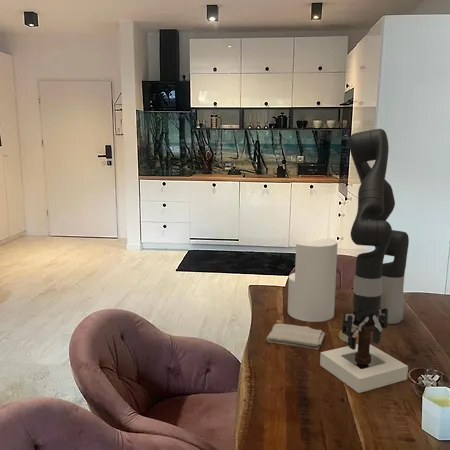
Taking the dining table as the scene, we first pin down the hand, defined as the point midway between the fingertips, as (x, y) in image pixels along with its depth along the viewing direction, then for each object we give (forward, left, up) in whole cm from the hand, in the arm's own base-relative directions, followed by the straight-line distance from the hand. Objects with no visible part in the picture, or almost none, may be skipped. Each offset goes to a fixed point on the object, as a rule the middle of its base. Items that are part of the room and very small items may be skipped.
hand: (363, 345), depth 136 cm
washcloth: (+5, -27, -9) cm, 29 cm away
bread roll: (-12, -19, -9) cm, 24 cm away
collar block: (0, 0, -8) cm, 8 cm away
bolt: (0, 0, -8) cm, 8 cm away
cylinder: (-13, -44, -8) cm, 47 cm away
